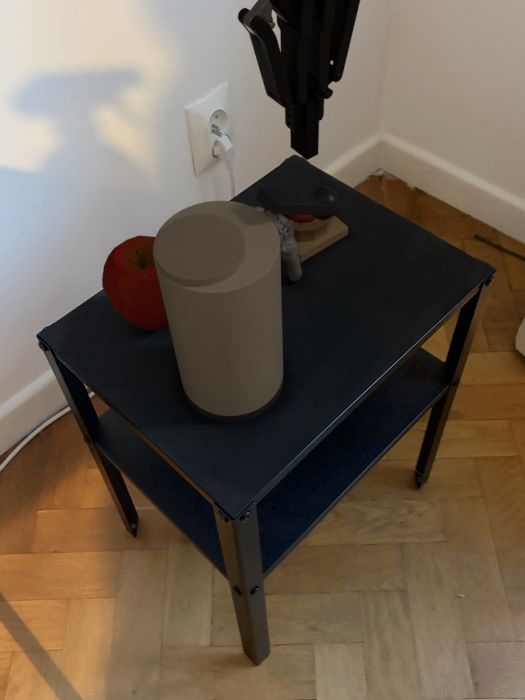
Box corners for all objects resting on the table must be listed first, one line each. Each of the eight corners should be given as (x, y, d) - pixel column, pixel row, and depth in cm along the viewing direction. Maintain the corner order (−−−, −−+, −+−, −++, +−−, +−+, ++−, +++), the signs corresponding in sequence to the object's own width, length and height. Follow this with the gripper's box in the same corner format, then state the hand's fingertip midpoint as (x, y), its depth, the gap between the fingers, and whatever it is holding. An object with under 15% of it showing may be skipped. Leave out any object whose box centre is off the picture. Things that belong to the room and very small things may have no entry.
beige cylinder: (303, 385, 72) (306, 243, 56) (220, 441, 68) (198, 307, 52) (244, 323, 76) (230, 176, 60) (163, 372, 73) (127, 230, 57)
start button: (325, 213, 82) (325, 202, 80) (300, 228, 81) (300, 216, 79) (304, 197, 84) (305, 185, 82) (280, 210, 82) (279, 199, 81)
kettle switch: (336, 226, 63) (351, 198, 62) (270, 225, 57) (284, 194, 56) (316, 208, 65) (330, 180, 63) (249, 206, 59) (262, 176, 57)
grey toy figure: (316, 269, 80) (318, 218, 74) (242, 335, 75) (238, 286, 69) (255, 231, 84) (251, 179, 78) (180, 291, 79) (171, 241, 73)
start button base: (348, 234, 84) (349, 215, 81) (300, 263, 81) (300, 244, 79) (304, 197, 87) (304, 178, 85) (257, 223, 85) (256, 204, 83)
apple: (179, 280, 80) (165, 206, 72) (210, 334, 76) (199, 262, 67) (105, 308, 78) (82, 236, 70) (133, 365, 74) (111, 296, 65)
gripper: (339, -137, 60) (329, 109, 79) (209, -90, 56) (231, 158, 75) (402, -109, 56) (376, 142, 75) (268, -55, 52) (276, 197, 71)
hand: (304, 150), depth 75 cm, fingers closed
